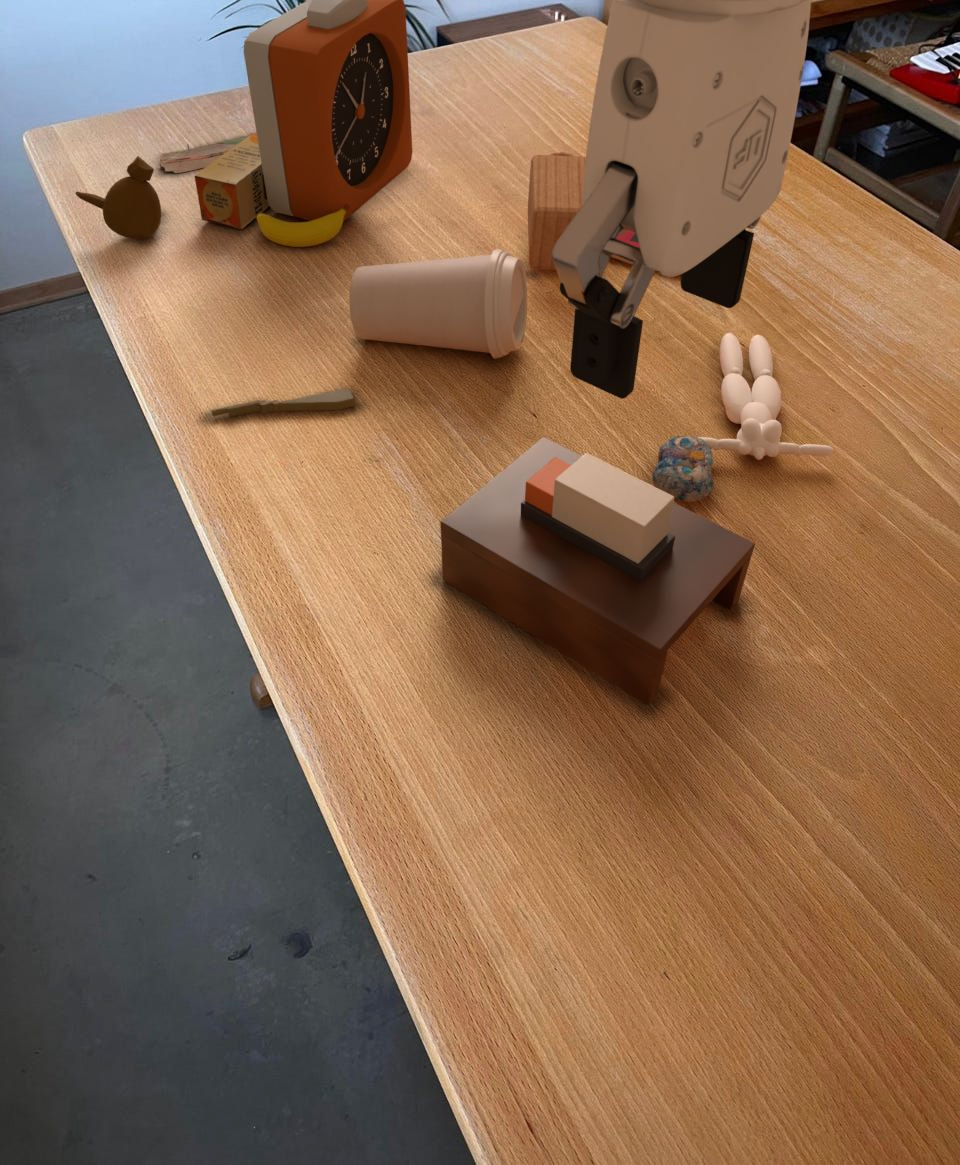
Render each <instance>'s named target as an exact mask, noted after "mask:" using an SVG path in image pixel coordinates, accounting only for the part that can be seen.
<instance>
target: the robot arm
mask: <svg viewBox="0 0 960 1165" xmlns="http://www.w3.org/2000/svg"><path fill="white" fill-rule="evenodd" d="M811 7H812V0H612V2H611V7H610V12H609V16H608V22H607V26H606V29H605V35H604V39H603V44H602V49H601V55H600V60H599V66H598V70H597V77H596V83H595V89H594V95H593V102H592V108H591V115H590V122H589V130H588V137H587V144H586V154H585V157H586V162H585V173H584V183H583V199H582V207H581V208H580V210H579V211H578V212H577V214H576V215H575V217H574V218H573V219H572V221H571V222H570V224H569V225H568V226H567V228H566V229H565V231H564V232H563V233H562V235H561V236H560V238H559V239H558V240H557V242H556V244H555V245H554V248H553V251H552V260H553V263H554V266H555V269H556V270H555V271H556V274H557V277H558V280H559V292H560V294H561V295H562V296H563V297H564V298H565V299H566V300H567V303H568V306H569V307H571V308H573V309H574V318H573V331H572V343H571V354H570V368H569V369H570V373H571V375H572V376H573V377H574V378H575V379H577V380H580V381H582V382H584V383H586V384H587V385H591V386H593V387H595V388H596V389H598V390H601V391H604V392H606V393H608V394H609V395H612V396H614V397H617V398H618V399H622V400H623V399H626V398H627V397H628V396H630V394H632V393H633V391H634V388H635V382H636V375H637V368H638V362H639V361H638V360H639V353H640V344H641V339H642V338H641V337H642V331H643V323H644V320H643V319H641V318H639V317H637V316H635V315H636V314H637V311H638V309H639V307H640V304H641V303H642V300H643V298H644V296H645V294H646V292H647V289H648V287H649V286H650V284H651V281H652V279H653V277H654V275H655V272H656V271H658V272H659V274H660V275H661V276H664V277H667V278H674V277H675V278H676V277H678V276H680V275H681V278H680V288H681V290H682V291H683V292H685V293H689V294H691V295H693V296H696V297H699V298H700V299H703V300H706V301H709V302H710V303H714V304H716V305H718V306H720V307H724V308H726V309H732V308H734V307H735V306H736V305H737V304H739V302H740V300H741V297H742V291H743V287H744V282H745V278H746V273H747V269H748V264H749V259H750V256H751V255H750V254H751V250H752V245H753V241H754V236H755V232H752V231H750V230H754V229H755V228H756V227H757V225H758V224H759V223H760V220H761V218H762V216H763V215H764V214H765V213H766V212H767V211H768V210H769V209H770V208H771V207H772V205H773V204H774V203H775V202H776V200H777V198H778V196H779V195H780V192H781V189H782V185H783V182H784V176H785V172H786V168H787V162H788V157H789V152H790V147H791V140H792V136H793V130H794V125H795V119H796V114H797V108H798V104H799V97H800V91H801V85H802V79H803V73H804V68H805V62H806V60H805V59H806V53H807V46H808V40H809V39H808V38H809V30H810V20H811V19H810V17H811ZM746 229H747V230H746ZM748 229H749V230H748ZM627 230H629V231H632V232H635V233H637V237H638V242H639V245H640V248H638V247H635V246H633V245H630V244H628V243H625V242H622V241H620V240H617V239H616V238H617V237H618V236H620V235H621V234H623V233H624V232H626V231H627ZM611 258H613V259H616V260H619V261H621V262H623V263H626V264H629V265H631V268H630V270H629V272H628V275H627V276H626V279H625V281H624V283H623V285H622V287H621V289H620V292H619V291H618V290H617V289H616V288H615V286H614V285H613V284H612V283H610V281H609V280H608V279H606V278H604V277H603V275H604V273H605V271H606V268H607V266H608V264H609V262H610V260H611Z"/></svg>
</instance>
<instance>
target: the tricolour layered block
mask: <svg viewBox="0 0 960 1165" xmlns="http://www.w3.org/2000/svg"><path fill="white" fill-rule="evenodd" d="M674 498H675V497H674V496H672V495H670V494H668V493H666V492H664V491H662V490H660V489H658V488H656V487H655V486H654V485H653V484H651V483H648V482H646V481H645V480H642V479H640V478H638V477H636V476H634V475H632V474H630V473H628V472H626V471H624V470H623V469H620V468H618V467H616V466H614V465H612V464H610V463H608V462H606V461H605V460H602V459H600V458H598V457H597V456H594V455H592V454H590V453H588V452H585V453H584V454H582V455H581V457H580V458H579V459H578V460H577V461H576V462H574V463H573V464H572V465H570V464H568V463H566V462H564V461H562V460H560V459H558V458H557V457H554V458H553V459H552V460H551V461H550V462H548V463H547V464H546V465H545V466H544V467H543V468H541V469H540V470H539V471H538V472H537V473H535V474H534V475H533V476H532V477H531V478H530V479H528V480H527V481H526V487H525V500H524V501H523V502H522V503H521V516H523V517H525V518H527V519H528V520H530V521H532V522H534V523H536V524H537V525H539V526H541V527H543V528H545V529H546V530H548V531H550V532H552V533H554V534H556V535H557V536H559V537H561V538H563V539H565V540H566V541H568V542H570V543H572V544H574V545H575V546H577V547H579V548H581V549H583V550H584V551H586V552H588V553H590V554H592V555H594V556H595V557H597V558H599V559H601V560H603V561H604V562H606V563H608V564H610V565H612V566H613V567H615V568H617V569H619V570H621V571H622V572H624V573H626V574H628V575H630V576H632V577H633V578H635V579H637V580H639V581H642V580H643V579H644V578H645V577H646V576H647V575H648V573H649V572H650V571H651V570H652V569H653V568H654V567H655V566H656V565H657V564H658V563H659V562H660V561H661V560H662V559H663V558H664V557H665V556H666V555H667V554H668V553H669V552H670V551H671V550H672V549H673V545H674V540H675V536H674V535H672V534H670V533H668V528H669V523H670V518H671V513H672V508H673V503H675V500H674Z"/></svg>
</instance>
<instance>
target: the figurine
mask: <svg viewBox="0 0 960 1165" xmlns="http://www.w3.org/2000/svg"><path fill="white" fill-rule="evenodd" d="M154 170H155V168H153V166H151V165H150V164H148V162H146V161H145V160H144V159H143V158H142V157H140V155H137V156H136V157H135V159H134V160H133V161H132V162H131V163H130V164H128V166H127V168H126V172H127V174H128V175H129V176H125V177H123V178H122V177H121V178H120V179H119V180H117V181H115V182H114V183H113V185H112V186H110V188H109V190H108V191H107V192H106V195H105V197H102V196H99V195H97V194H94V193H89V192H81V191H75V195H76V197H78V199H81V200H82V201H84V202H86V203H88V204H90V205H92V206H95V207H96V208H98V209H101V210H102V216H103V221H104V223H105V225H107V228H109V229H110V230H111V231H112V232H113V233H115V234H116V235H119V236H121V237H123V238H126V239H132V240H144V239H148V238H150V237H152V236H154V234H155V233H156V232H157V230H158V228H159V227H160V224H161V221H162V206H161V200H160V198H159V195H158V193H157V191H156V189H155V187H154V186H153V185H152V184H151V183H150V181H151V179H152V176H153V174H154V172H155V171H154Z"/></svg>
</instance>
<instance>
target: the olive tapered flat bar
mask: <svg viewBox="0 0 960 1165" xmlns="http://www.w3.org/2000/svg"><path fill="white" fill-rule="evenodd" d="M355 406H356V400H355V397H354V395H353V393H352V391H351V388H350V387H345V388H340V389H335V390H331V391H326V392H322V393H316V394H312V395H307V396H302V397H297V398H293V399H287V400H283V401H282V400H281V401H278V400H277V399H274V400H269V401H266V400H255V401H254V400H253V401H248V402H244V403H239V404H234V405H230V406H225V407H224V406H223V407H219V408H215V409H211V414H212V417H215V416H221V415H224V414H228V417H229V418H233V417H238V416H242V415H246V414H252V413H256V412H261V413H263V414H267V413H270V412H274V413H281V412H303V411H304V412H305V411H307V412H308V411H339V410H344V409H345V410H346V409H348V408H353V407H355Z"/></svg>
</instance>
